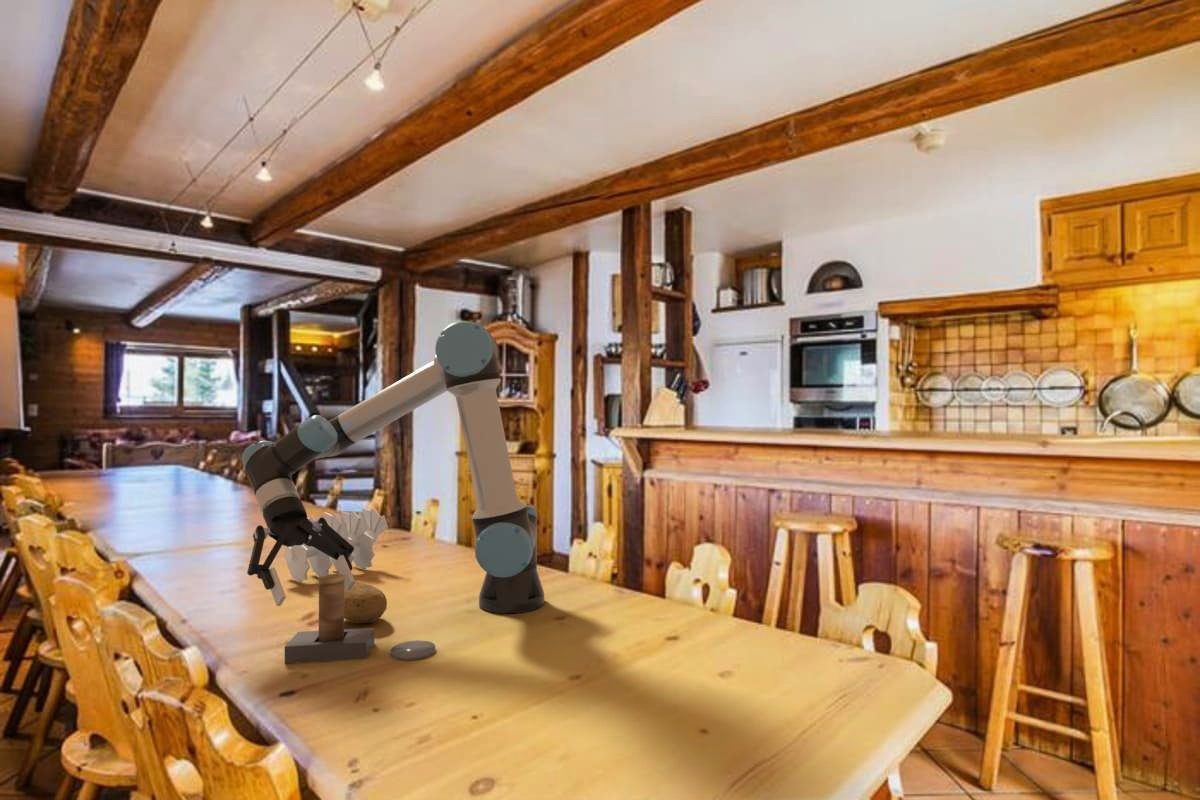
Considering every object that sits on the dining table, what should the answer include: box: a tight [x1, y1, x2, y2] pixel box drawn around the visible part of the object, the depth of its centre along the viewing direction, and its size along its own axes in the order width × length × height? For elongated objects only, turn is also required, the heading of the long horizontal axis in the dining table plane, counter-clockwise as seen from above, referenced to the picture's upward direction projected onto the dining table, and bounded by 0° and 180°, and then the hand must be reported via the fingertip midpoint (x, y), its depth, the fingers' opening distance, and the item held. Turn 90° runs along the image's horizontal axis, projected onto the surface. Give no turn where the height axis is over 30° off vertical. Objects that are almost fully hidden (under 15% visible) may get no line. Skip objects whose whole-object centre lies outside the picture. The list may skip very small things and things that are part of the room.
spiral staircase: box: [283, 507, 389, 584], centre depth 180 cm, size 18×18×25 cm
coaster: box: [390, 639, 436, 661], centre depth 122 cm, size 8×8×1 cm
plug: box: [317, 573, 345, 642], centre depth 122 cm, size 5×5×14 cm
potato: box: [344, 580, 388, 624], centre depth 140 cm, size 10×14×8 cm
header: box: [284, 627, 375, 664], centre depth 122 cm, size 14×8×3 cm, turn 99°
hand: (317, 593), depth 124 cm, fingers open, 13 cm apart
